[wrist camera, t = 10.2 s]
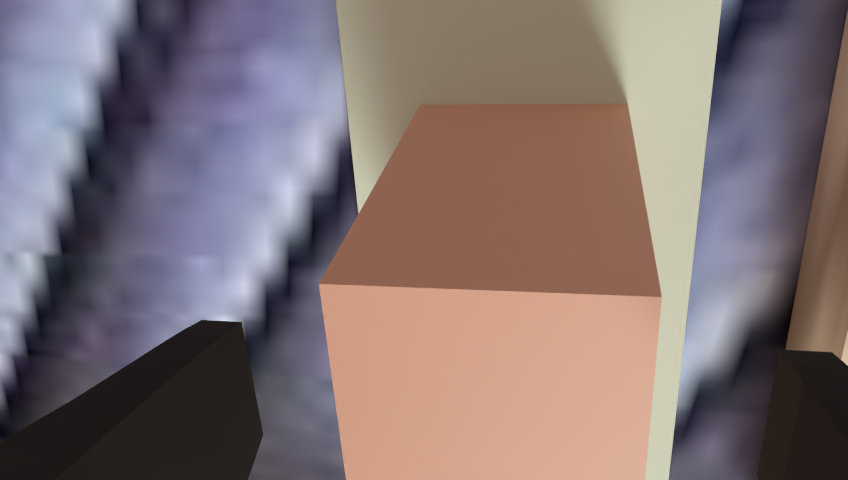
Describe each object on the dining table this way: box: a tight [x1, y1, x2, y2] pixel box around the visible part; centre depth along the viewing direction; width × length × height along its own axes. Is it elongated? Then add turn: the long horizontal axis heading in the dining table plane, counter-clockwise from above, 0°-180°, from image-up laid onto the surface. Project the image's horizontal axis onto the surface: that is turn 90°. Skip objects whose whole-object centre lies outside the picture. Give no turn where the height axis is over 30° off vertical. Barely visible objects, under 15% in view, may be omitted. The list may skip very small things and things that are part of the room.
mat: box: [336, 0, 722, 480], centre depth 16 cm, size 16×7×1 cm, turn 3°
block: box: [319, 104, 662, 480], centre depth 13 cm, size 4×4×7 cm
